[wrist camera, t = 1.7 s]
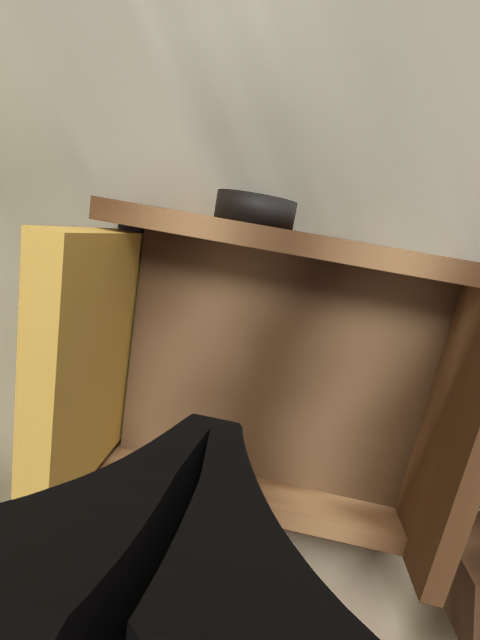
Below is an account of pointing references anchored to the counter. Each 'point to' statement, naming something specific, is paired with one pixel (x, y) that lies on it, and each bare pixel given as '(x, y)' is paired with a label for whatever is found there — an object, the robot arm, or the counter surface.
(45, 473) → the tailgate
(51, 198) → the counter surface
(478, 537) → the walnut crate
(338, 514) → the brown wooden drawer
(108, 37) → the counter surface
